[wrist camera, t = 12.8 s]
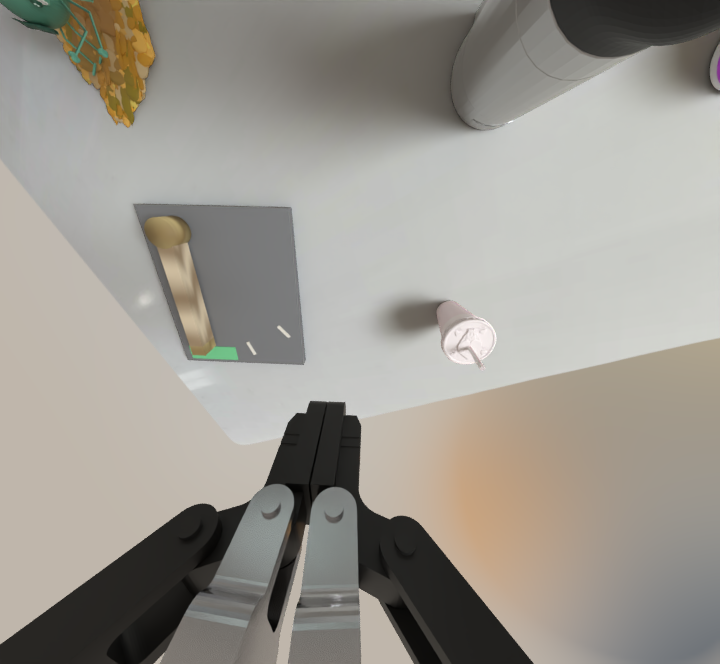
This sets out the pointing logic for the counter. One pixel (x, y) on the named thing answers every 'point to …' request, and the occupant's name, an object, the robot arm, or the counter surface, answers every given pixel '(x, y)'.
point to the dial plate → (240, 280)
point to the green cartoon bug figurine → (98, 45)
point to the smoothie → (464, 334)
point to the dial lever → (182, 279)
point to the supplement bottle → (715, 68)
